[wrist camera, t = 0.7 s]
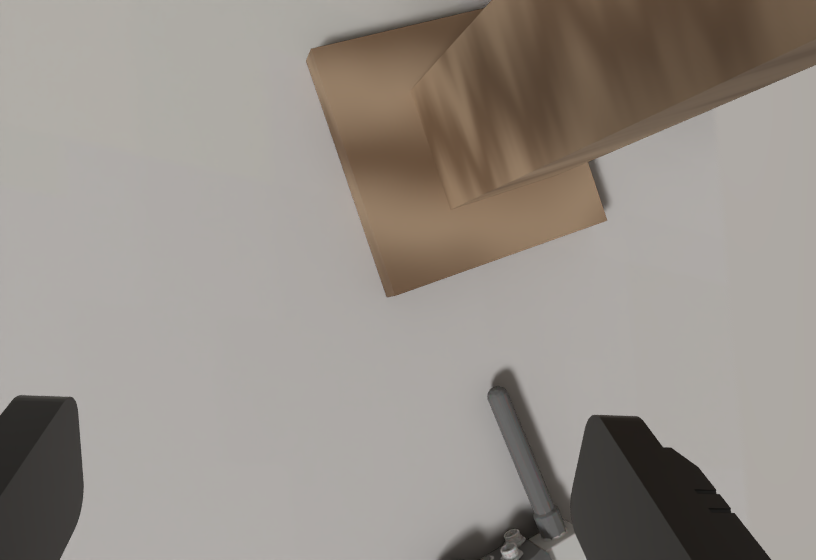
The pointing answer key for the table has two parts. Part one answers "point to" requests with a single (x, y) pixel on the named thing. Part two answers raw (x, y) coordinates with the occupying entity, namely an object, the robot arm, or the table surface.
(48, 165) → the table surface
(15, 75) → the table surface
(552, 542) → the walkie-talkie
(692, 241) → the table surface
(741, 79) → the stand
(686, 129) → the table surface
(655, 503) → the robot arm
